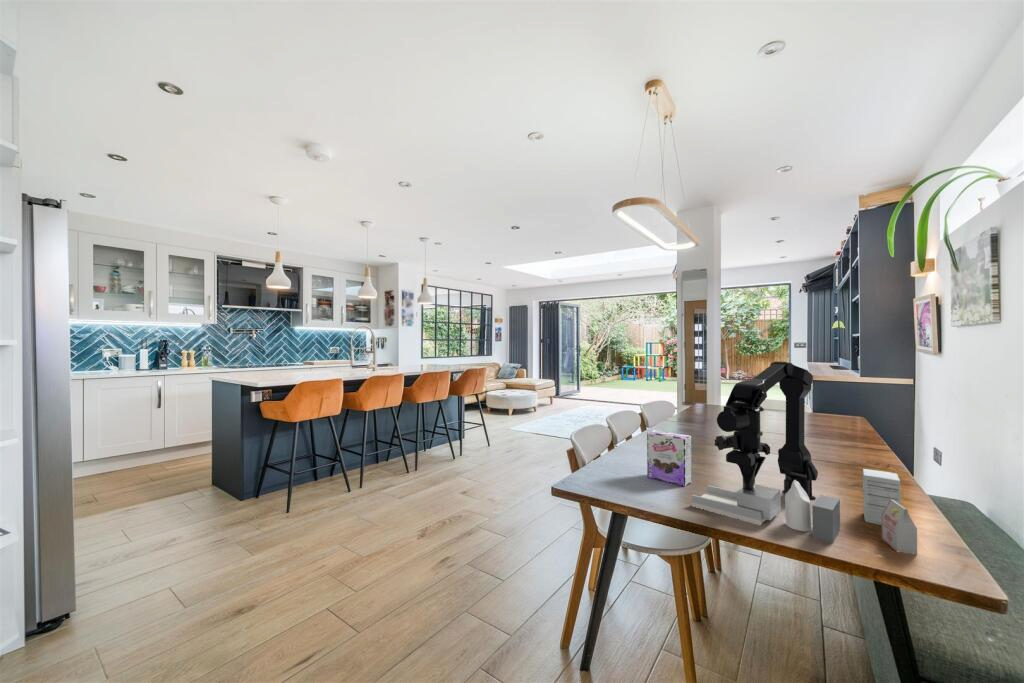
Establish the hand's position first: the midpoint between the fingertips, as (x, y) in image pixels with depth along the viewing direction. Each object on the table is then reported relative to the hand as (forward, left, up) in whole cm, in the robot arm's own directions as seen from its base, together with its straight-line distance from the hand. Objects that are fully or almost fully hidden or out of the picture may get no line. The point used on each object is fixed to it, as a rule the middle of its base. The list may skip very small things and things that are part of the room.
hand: (749, 483), depth 116 cm
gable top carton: (-25, +19, -9) cm, 32 cm away
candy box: (+12, -28, -9) cm, 32 cm away
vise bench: (-2, +2, -9) cm, 9 cm away
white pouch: (-8, +8, -9) cm, 14 cm away
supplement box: (-33, +5, -9) cm, 34 cm away
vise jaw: (-2, +2, -7) cm, 7 cm away
